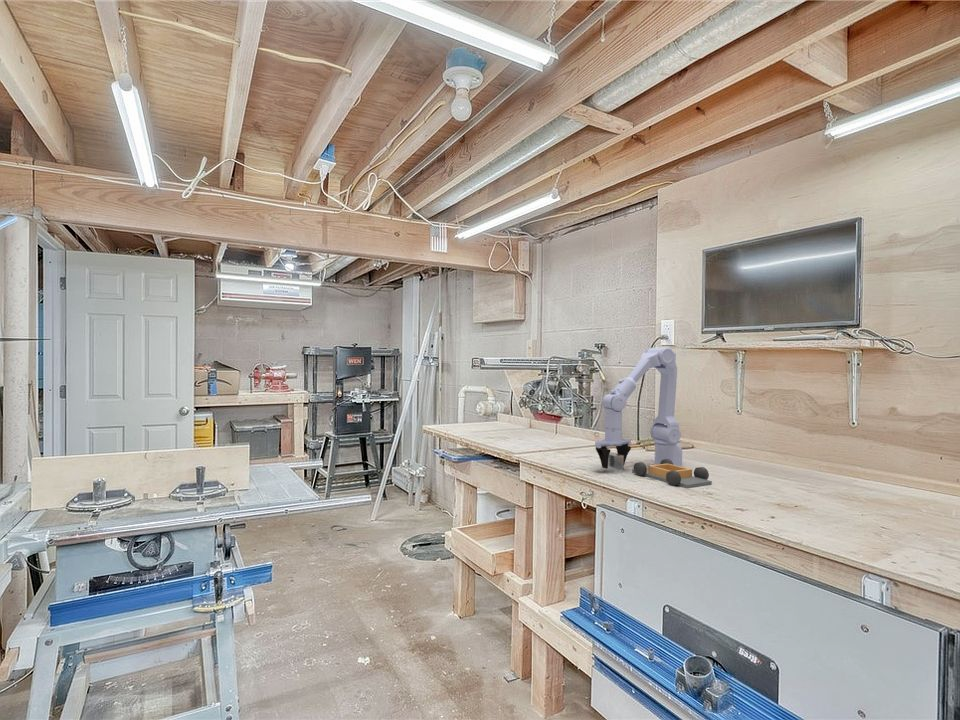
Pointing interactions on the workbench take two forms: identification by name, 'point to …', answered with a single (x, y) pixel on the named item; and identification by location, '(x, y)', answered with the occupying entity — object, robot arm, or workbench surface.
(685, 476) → the chassis
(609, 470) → the engine block
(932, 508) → the workbench surface
